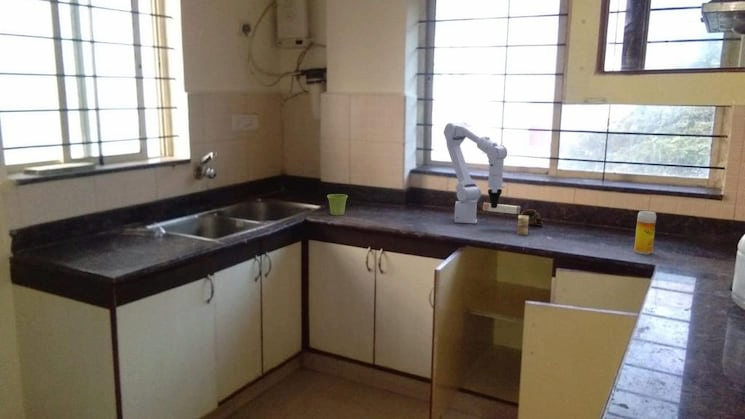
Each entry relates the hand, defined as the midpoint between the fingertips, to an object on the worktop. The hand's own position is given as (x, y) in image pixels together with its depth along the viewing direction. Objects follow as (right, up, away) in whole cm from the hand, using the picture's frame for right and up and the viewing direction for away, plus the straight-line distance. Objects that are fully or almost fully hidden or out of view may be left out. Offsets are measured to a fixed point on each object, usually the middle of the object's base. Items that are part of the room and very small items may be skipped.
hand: (494, 207), depth 253 cm
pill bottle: (+47, -17, -34) cm, 61 cm away
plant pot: (-67, -3, +24) cm, 71 cm away
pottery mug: (+17, -8, +7) cm, 20 cm away
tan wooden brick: (+10, -10, -6) cm, 16 cm away
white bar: (+3, -2, 0) cm, 3 cm away
